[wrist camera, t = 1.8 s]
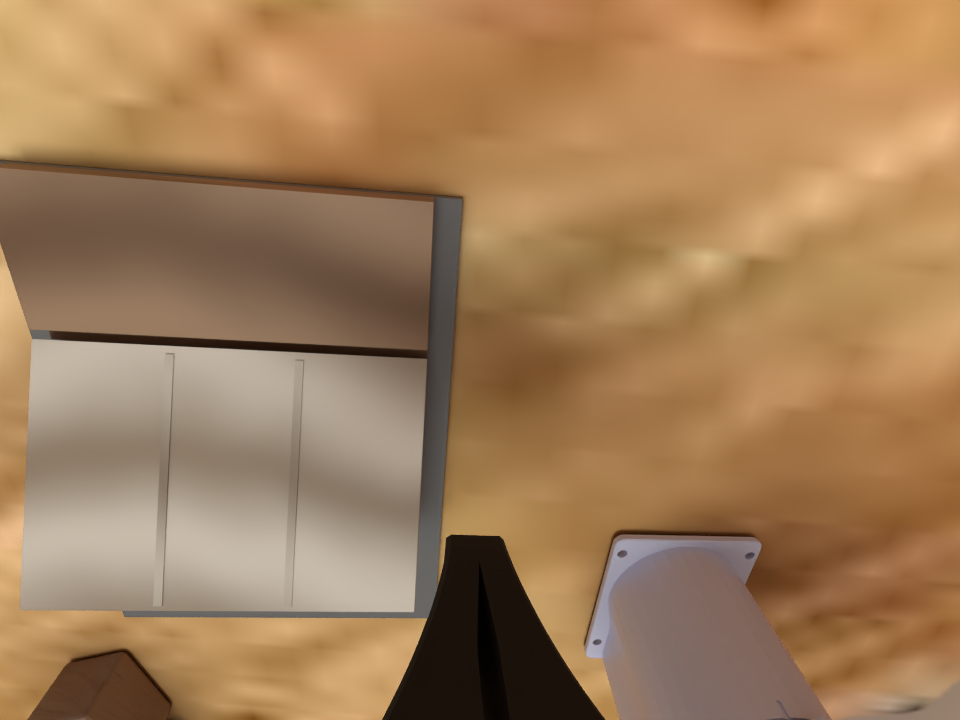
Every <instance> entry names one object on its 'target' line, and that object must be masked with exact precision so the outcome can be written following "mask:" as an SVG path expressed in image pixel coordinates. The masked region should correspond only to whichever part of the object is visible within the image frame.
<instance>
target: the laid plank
mask: <svg viewBox="0 0 960 720" xmlns="http://www.w3.org/2000/svg"><path fill="white" fill-rule="evenodd" d="M433 219H434V197H425V196H412V195H400V194H387V193H375V192H362V191H349V190H337V189H324V188H312V187H299V186H287V185H274V184H262V183H249V182H237V181H224V180H212V179H199V178H187V177H174V176H162V175H149V174H137V173H124V172H112V171H99V170H87V169H74V168H62V167H49V166H37V165H24V164H12V163H2V164H0V243H1V246H2V249H3V252H4V255H5V259H6V262H7V265H8V268H9V271H10V274H11V277H12V280H13V283H14V286H15V289H16V292H17V295H18V298H19V301H20V304H21V307H22V310H23V313H24V316H25V319H26V322H27V325H28V328H29V329H31V330H49V334H50V337H51V339H68V340H87V341H107V342H127V343H146V344H166V345H185V346H205V347H225V348H244V349H264V350H284V351H303V352H323V353H343V354H362V355H382V356H401V357H421V358H427V356H428V336H429V312H430V289H431V266H432V243H433Z"/></svg>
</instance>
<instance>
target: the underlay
mask: <svg viewBox="0 0 960 720" xmlns="http://www.w3.org/2000/svg"><path fill="white" fill-rule="evenodd" d="M2 163H12V164H24V165H37V166H49V167H62V168H74V169H87V170H99V171H112V172H124V173H137V174H149V175H162V176H174V177H187V178H199V179H212V180H224V181H237V182H249V183H262V184H274V185H287V186H299V187H312V188H324V189H337V190H349V191H362V192H375V193H387V194H400V195H412V196H425V197H434V219H433V243H432V266H431V289H430V312H429V336H428V356H427V358H422V359H427V377H426V397H425V417H424V436H423V456H422V476H421V495H420V515H419V534H418V554H417V574H416V593H415V606H414V612H288V611H123V614H124V617H263V618H428V616H429V613H430V610H431V607H432V604H433V601H434V598H435V595H436V591H437V577H438V562H439V547H440V532H441V517H442V502H443V487H444V472H445V457H446V442H447V427H448V412H449V397H450V382H451V367H452V352H453V337H454V322H455V307H456V292H457V277H458V262H459V247H460V232H461V217H462V202H463V199H462V197H453V196H441V195H428V194H416V193H403V192H391V191H378V190H366V189H353V188H341V187H329V186H316V185H304V184H291V183H279V182H266V181H254V180H241V179H229V178H217V177H204V176H192V175H179V174H167V173H154V172H142V171H129V170H117V169H105V168H92V167H80V166H67V165H55V164H42V163H30V162H17V161H5V160H0V164H2ZM29 330H30V333H31V336H32V339H45V340H68V339H51V337H50V334H49V330H31V329H29ZM68 341H87V340H68ZM88 342H107V341H88ZM107 343H127V342H107ZM127 344H146V343H127ZM147 345H166V344H147ZM166 346H185V345H166ZM186 347H205V346H186ZM206 348H225V347H206ZM225 349H244V348H225ZM245 350H264V349H245ZM265 351H284V350H265ZM285 352H303V351H285ZM304 353H323V352H304ZM324 354H343V353H324ZM344 355H362V354H344ZM363 356H382V355H363ZM383 357H401V356H383ZM403 358H421V357H403Z"/></svg>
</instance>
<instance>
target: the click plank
mask: <svg viewBox="0 0 960 720" xmlns="http://www.w3.org/2000/svg"><path fill="white" fill-rule="evenodd" d="M426 377H427V359H422V358H403V357H383V356H363V355H344V354H324V353H304V352H285V351H265V350H245V349H225V348H206V347H186V346H166V345H147V344H127V343H107V342H88V341H68V340H45V339H32V346H31V369H30V391H29V414H28V436H27V458H26V481H25V503H24V526H23V548H22V571H21V593H20V610H93V611H288V612H414V606H415V593H416V574H417V554H418V534H419V515H420V495H421V476H422V456H423V436H424V417H425V397H426Z"/></svg>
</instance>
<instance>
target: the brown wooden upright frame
mask: <svg viewBox="0 0 960 720" xmlns="http://www.w3.org/2000/svg"><path fill="white" fill-rule="evenodd" d="M170 707H171V705H170V703H169V702H168V701H167V700H166V699H165V697H164V696H163V695H162V694H161V693H160V692H159V690H158V689H157V688H156V687H155V686H154V685H153V683H152V682H151V681H150V680H149V679H148V678H147V676H146V675H145V674H144V673H143V672H142V671H141V669H140V668H139V667H138V666H137V665H136V664H135V662H134V661H133V660H132V659H131V658H130V657H129V655H128V654H127V653H124V652H119V653H114V654H109V655H104V656H99V657H95V658H90V659H85V660H80V661H75V662H71V663H69V664H67V665H66V666H65V667H64V668H63V670H62V671H61V673H60V674H59V675H58V677H57V678H56V680H55V681H54V683H53V684H52V685H51V687H50V688H49V690H48V691H47V693H46V694H45V695H44V697H43V698H42V700H41V701H40V703H39V704H38V705H37V707H36V708H35V710H34V711H33V712H32V714H31V715H30V717H29V718H28V720H166V718H167V716H168V714H169V712H170Z"/></svg>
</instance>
